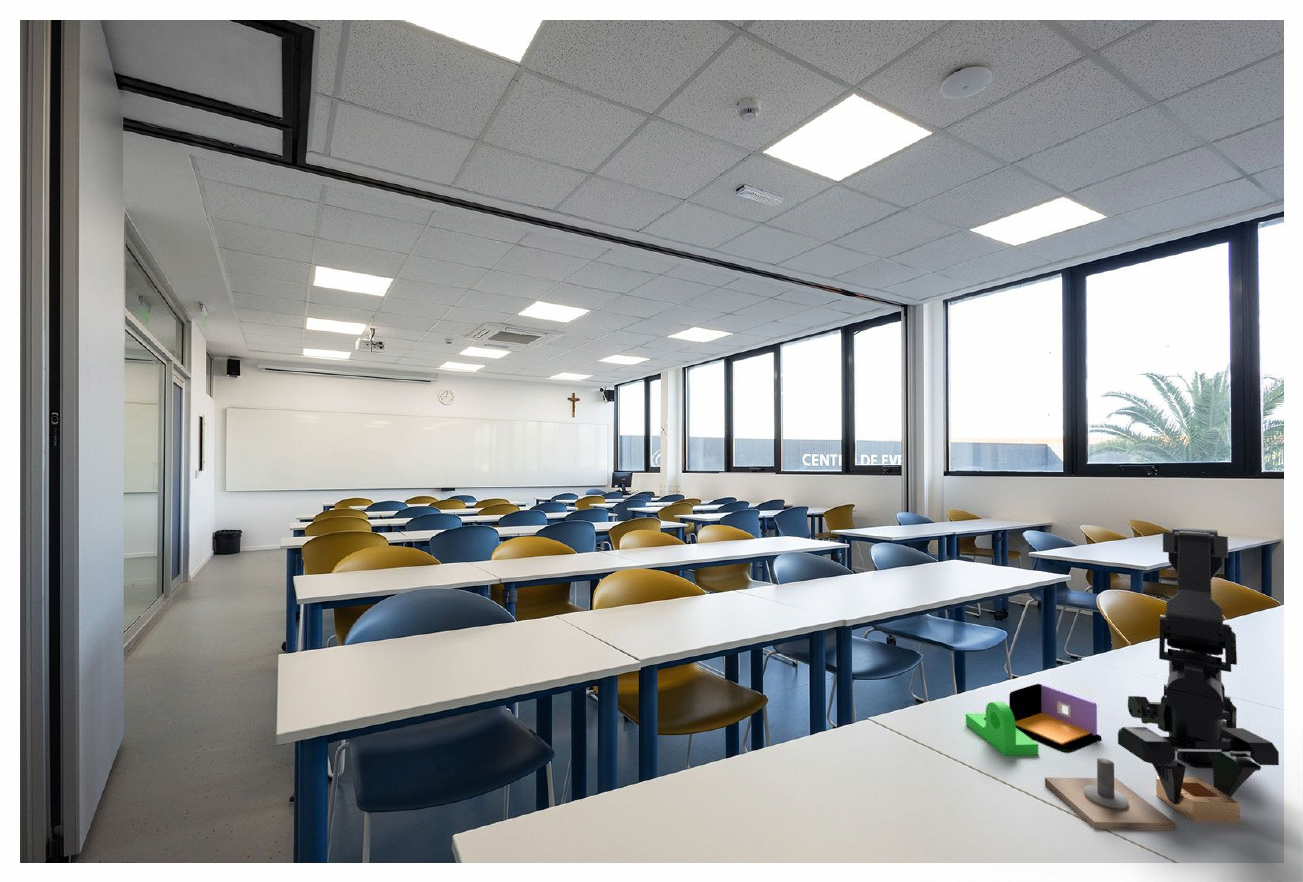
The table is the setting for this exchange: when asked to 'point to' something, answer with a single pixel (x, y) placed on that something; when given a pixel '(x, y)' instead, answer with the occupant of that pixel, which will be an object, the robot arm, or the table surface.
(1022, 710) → the toy room diorama
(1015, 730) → the mechanical part
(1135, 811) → the post stand
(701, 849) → the table surface
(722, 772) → the table surface
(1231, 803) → the wooden collar
